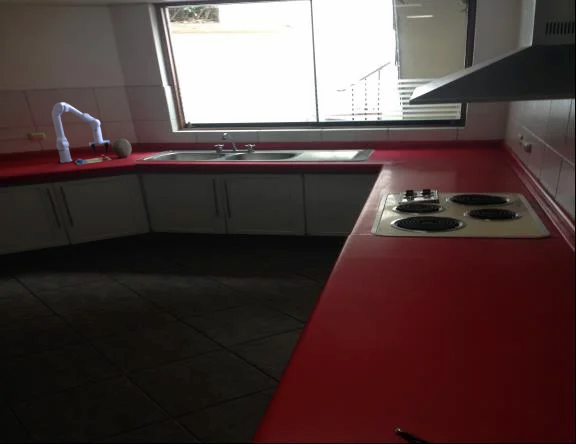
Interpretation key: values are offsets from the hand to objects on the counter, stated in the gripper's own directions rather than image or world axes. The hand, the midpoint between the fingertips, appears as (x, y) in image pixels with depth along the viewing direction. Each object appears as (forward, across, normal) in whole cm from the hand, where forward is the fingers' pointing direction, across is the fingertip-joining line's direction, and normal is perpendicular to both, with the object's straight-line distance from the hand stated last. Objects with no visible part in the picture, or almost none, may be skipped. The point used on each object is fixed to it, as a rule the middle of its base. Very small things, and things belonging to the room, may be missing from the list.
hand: (101, 153), depth 322 cm
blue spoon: (+4, -16, -2) cm, 17 cm away
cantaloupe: (+4, +14, -8) cm, 17 cm away
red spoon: (+4, +1, -2) cm, 5 cm away
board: (+4, -7, -2) cm, 9 cm away
